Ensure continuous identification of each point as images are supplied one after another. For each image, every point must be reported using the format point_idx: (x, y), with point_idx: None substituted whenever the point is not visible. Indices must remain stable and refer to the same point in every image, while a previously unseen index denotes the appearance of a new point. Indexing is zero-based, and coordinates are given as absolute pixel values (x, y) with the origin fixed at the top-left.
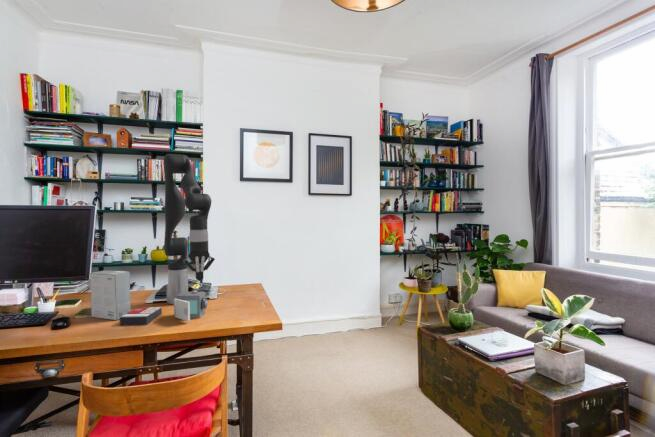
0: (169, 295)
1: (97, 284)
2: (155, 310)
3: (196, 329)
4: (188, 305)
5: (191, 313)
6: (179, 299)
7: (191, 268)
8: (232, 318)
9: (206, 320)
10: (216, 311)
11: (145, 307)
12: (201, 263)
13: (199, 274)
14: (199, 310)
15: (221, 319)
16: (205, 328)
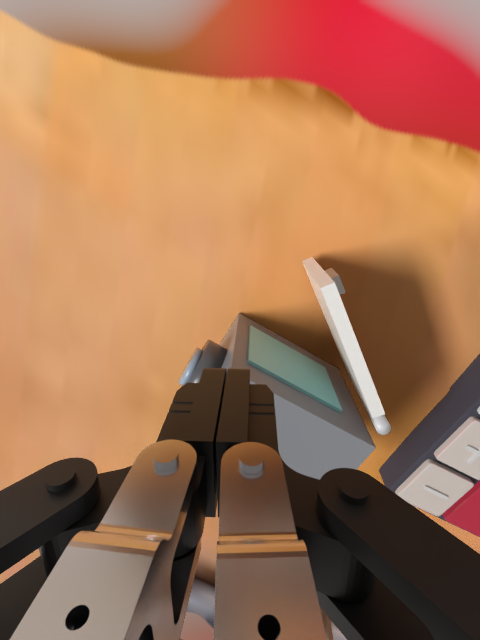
0: (324, 615)
1: None
2: (431, 460)
3: (294, 129)
4: (326, 277)
5: (278, 341)
6: (363, 394)
7: (410, 528)
8: (81, 212)
9: (215, 257)
10: (144, 373)
11: (457, 524)
12: (118, 628)
13: (226, 415)
14: (238, 327)
15: (140, 229)
16: (247, 117)
